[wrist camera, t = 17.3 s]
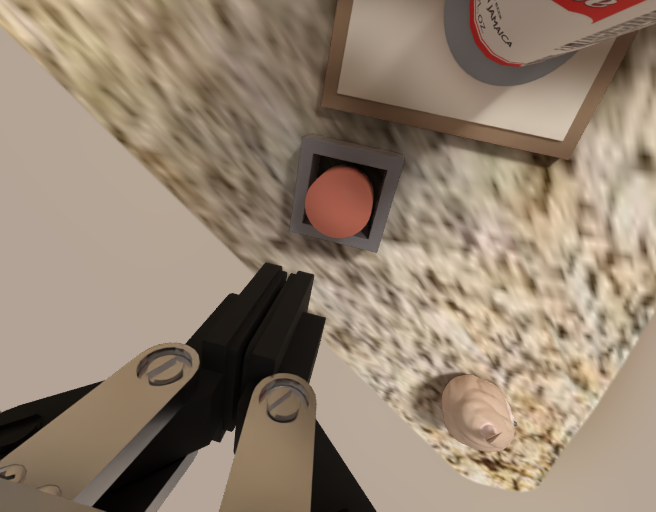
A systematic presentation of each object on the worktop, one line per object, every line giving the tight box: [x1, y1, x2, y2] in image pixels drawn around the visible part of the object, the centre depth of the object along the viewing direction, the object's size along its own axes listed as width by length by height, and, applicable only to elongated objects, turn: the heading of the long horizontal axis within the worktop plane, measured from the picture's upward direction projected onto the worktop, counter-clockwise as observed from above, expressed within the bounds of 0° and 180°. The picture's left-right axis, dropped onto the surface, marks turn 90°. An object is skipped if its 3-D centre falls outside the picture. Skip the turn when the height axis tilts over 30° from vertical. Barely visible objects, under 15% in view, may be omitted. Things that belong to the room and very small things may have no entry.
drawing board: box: [321, 0, 638, 160], centre depth 18 cm, size 13×17×1 cm
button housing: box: [289, 134, 405, 253], centre depth 23 cm, size 7×7×3 cm
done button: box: [305, 165, 374, 238], centre depth 21 cm, size 4×4×3 cm
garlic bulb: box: [442, 374, 517, 452], centre depth 27 cm, size 7×6×8 cm
